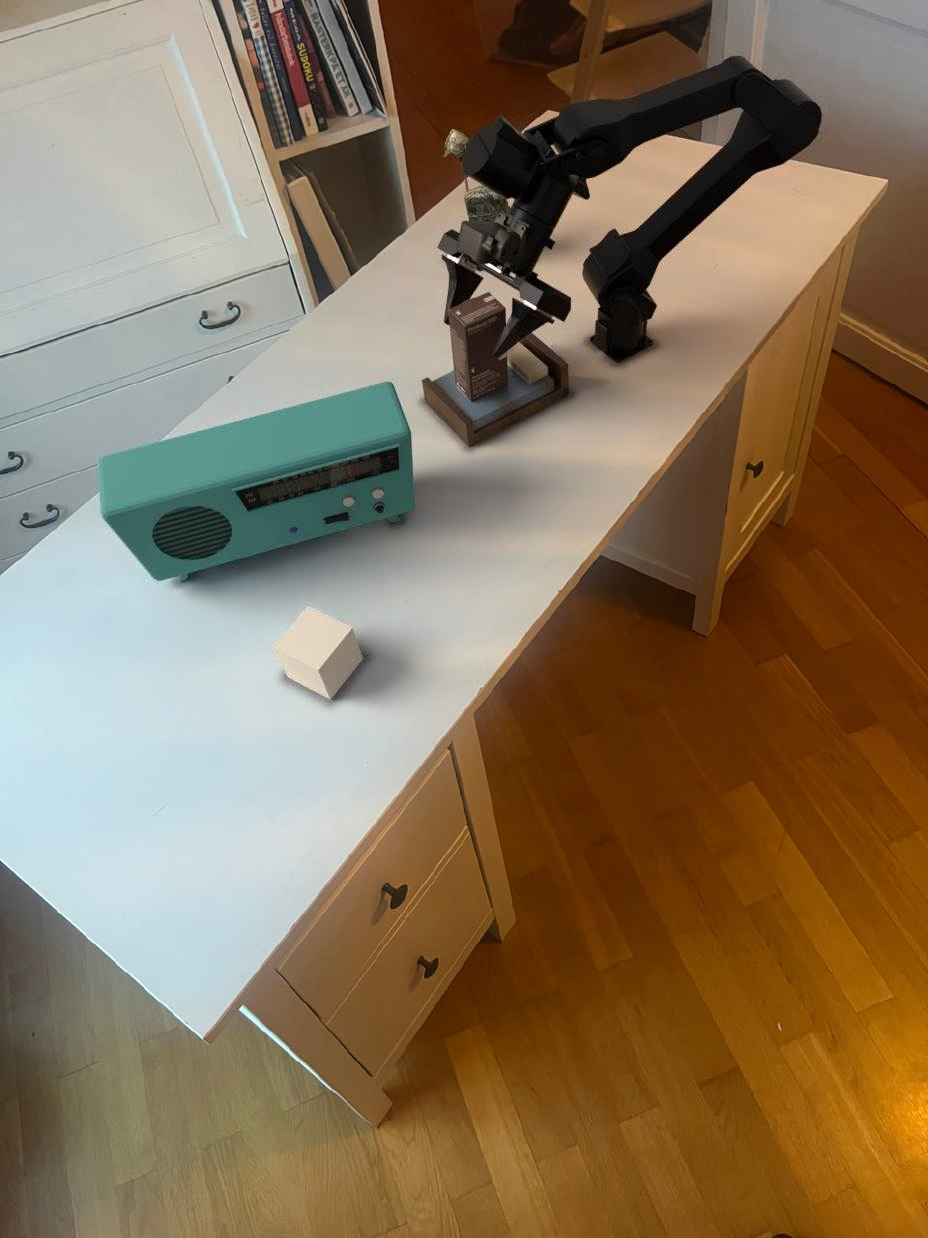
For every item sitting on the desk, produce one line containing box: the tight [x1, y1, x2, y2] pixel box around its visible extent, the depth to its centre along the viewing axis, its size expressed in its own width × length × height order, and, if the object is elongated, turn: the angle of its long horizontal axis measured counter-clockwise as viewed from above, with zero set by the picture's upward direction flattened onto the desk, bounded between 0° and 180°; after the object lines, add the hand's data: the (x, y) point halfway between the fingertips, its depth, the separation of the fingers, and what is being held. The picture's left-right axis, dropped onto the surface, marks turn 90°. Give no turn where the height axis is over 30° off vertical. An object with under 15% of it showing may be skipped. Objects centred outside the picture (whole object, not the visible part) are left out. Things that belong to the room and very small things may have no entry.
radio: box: [97, 381, 415, 582], centre depth 103 cm, size 34×10×15 cm, turn 105°
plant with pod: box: [442, 128, 511, 222], centre depth 130 cm, size 8×11×20 cm
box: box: [448, 291, 508, 402], centre depth 111 cm, size 6×4×12 cm
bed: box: [421, 332, 570, 448], centre depth 117 cm, size 16×11×5 cm
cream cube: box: [272, 605, 364, 701], centre depth 94 cm, size 6×6×6 cm
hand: (470, 339), depth 109 cm, fingers open, 9 cm apart
